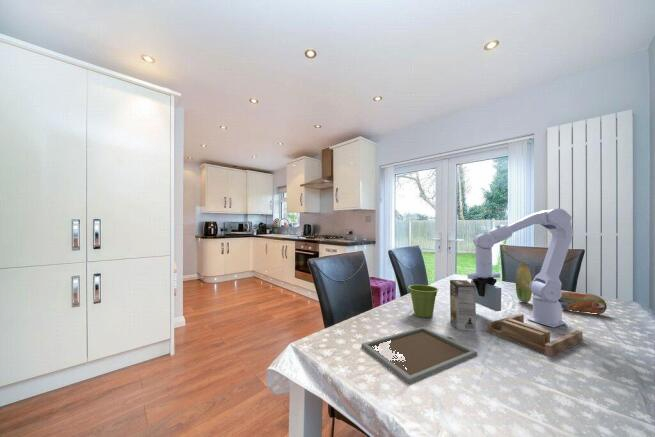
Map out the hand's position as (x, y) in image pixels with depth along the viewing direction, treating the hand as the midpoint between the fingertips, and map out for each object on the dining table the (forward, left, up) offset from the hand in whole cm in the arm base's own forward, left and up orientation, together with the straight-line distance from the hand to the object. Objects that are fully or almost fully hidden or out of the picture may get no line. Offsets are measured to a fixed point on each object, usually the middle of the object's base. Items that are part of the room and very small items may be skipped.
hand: (484, 295), depth 98 cm
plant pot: (+22, -12, -9) cm, 26 cm away
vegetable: (-35, -2, -8) cm, 36 cm away
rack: (+4, +18, -8) cm, 20 cm away
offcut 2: (+7, +18, -8) cm, 21 cm away
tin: (-43, +15, -9) cm, 46 cm away
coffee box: (+17, +2, -9) cm, 19 cm away
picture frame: (+45, +8, -9) cm, 47 cm away
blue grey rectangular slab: (0, 0, -4) cm, 4 cm away
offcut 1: (+10, +18, -8) cm, 23 cm away
